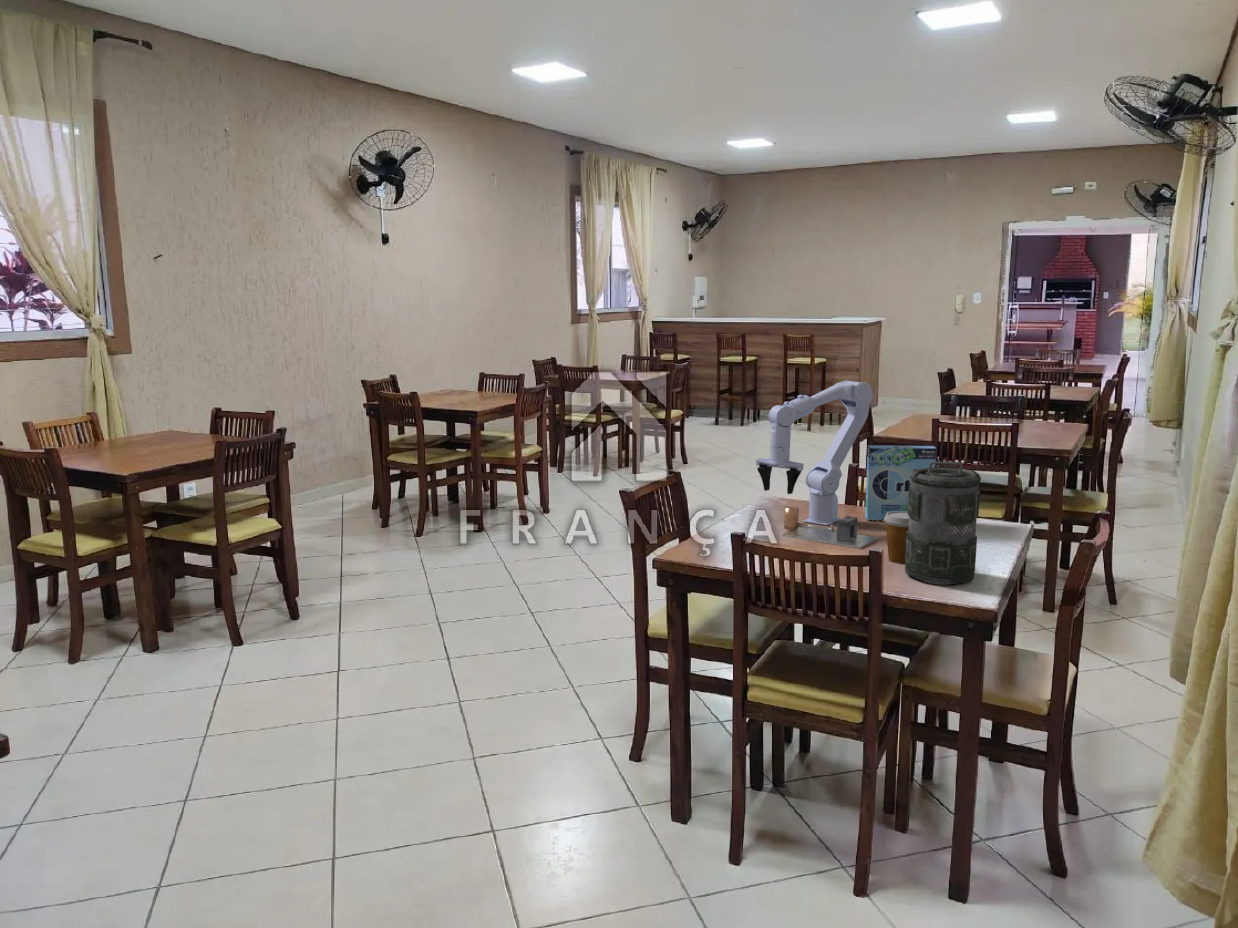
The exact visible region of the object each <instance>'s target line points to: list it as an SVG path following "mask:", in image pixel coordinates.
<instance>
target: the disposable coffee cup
mask: <svg viewBox="0 0 1238 928" xmlns="http://www.w3.org/2000/svg"><path fill="white" fill-rule="evenodd" d="M884 520H885V521H884V523H885V532H886V541H887V542H886V544H887V555H888V561H890V562H891V563H895V564H902V565H903V564H904V565H905V551H906V532H907V531H908V530H909V516H908V511H891V512H887V513H886V516H885V517H884Z"/></svg>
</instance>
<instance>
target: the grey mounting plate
mask: <svg viewBox="0 0 1238 928" xmlns="http://www.w3.org/2000/svg"><path fill="white" fill-rule="evenodd" d="M782 537H786V538H792V539H799V540H805V541H811V542H816V543H823V544H828V545H836V546H839V547H840V546H841V547H845V548H846V547H847V548H853V549H858V550H862V549H863V548H865V547H867V546H869V545H871V544H872V543H873V542H875V541H877V540H878V537H877V536H870V535H864V534H859V533H858V517H855V516H850V515H847V516H844V517H842V518H840V520H838V521H836V530H834V532H827V531H820V530H814V529H808V528H801V527H798V529H797V530H788V531H786V532H784V533H783V534H782Z"/></svg>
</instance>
